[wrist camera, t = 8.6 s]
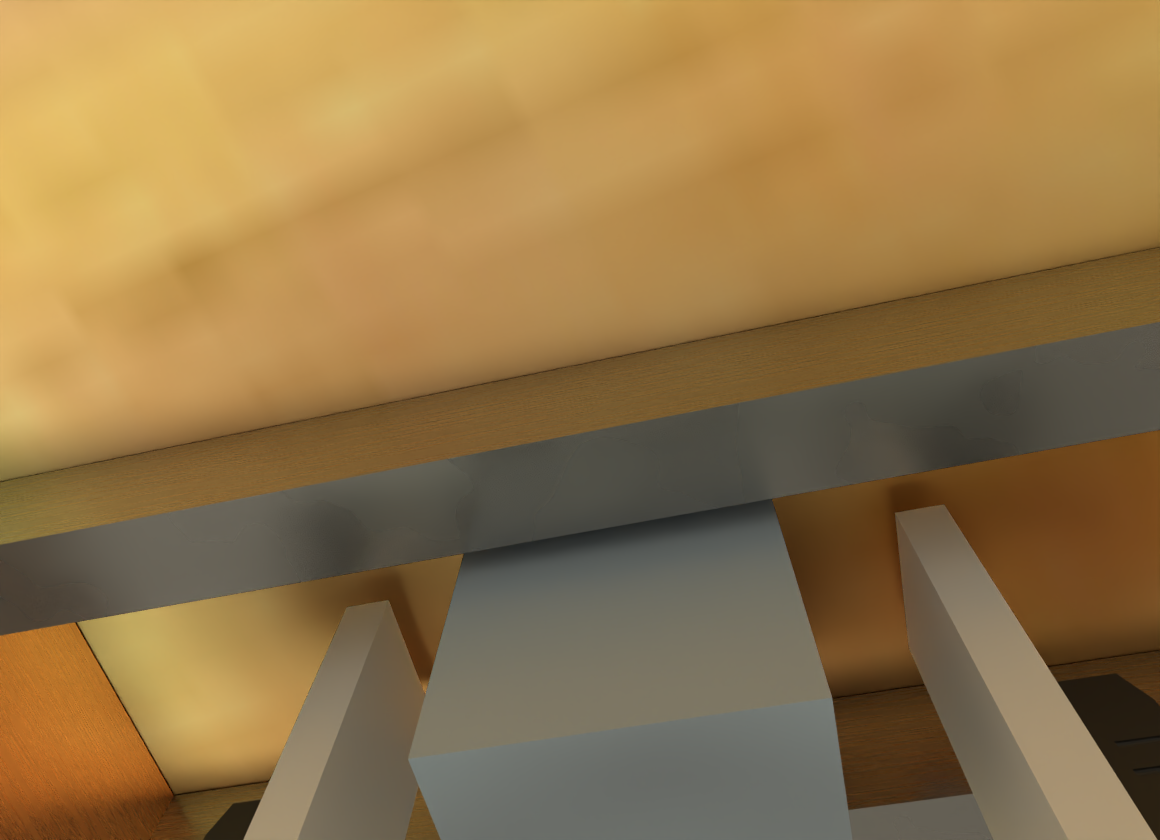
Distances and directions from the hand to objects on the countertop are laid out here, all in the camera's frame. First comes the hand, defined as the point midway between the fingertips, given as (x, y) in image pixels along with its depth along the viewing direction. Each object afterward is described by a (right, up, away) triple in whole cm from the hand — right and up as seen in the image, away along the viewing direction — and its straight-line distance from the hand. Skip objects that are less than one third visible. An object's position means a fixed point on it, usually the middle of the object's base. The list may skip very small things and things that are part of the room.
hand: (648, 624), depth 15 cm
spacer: (0, +1, +1) cm, 1 cm away
